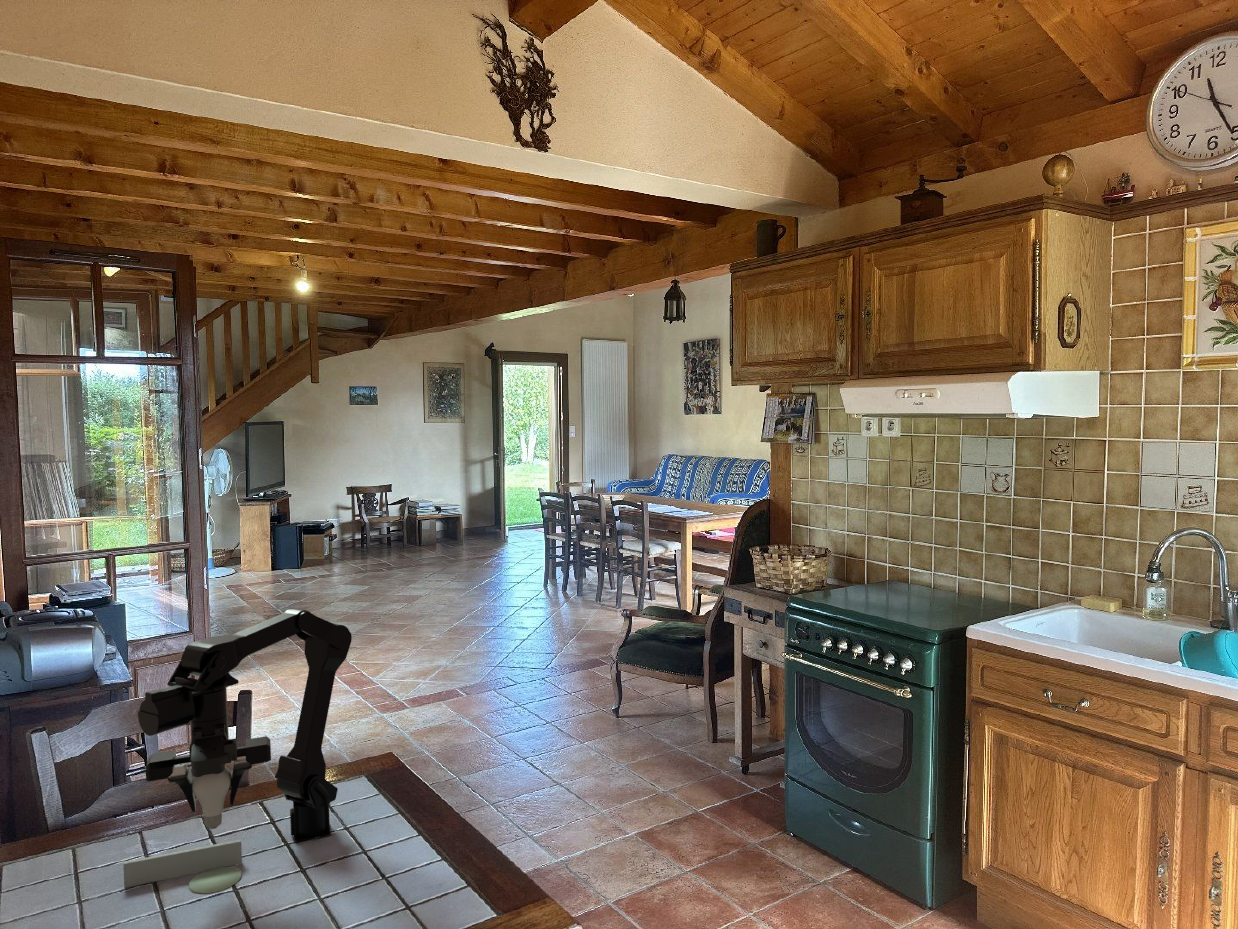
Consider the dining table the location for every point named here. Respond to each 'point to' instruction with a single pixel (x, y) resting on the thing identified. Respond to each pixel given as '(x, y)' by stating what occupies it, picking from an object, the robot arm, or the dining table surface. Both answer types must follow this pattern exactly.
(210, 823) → the lightbulb
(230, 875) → the pad
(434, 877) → the dining table surface
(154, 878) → the grey-green flat bar
